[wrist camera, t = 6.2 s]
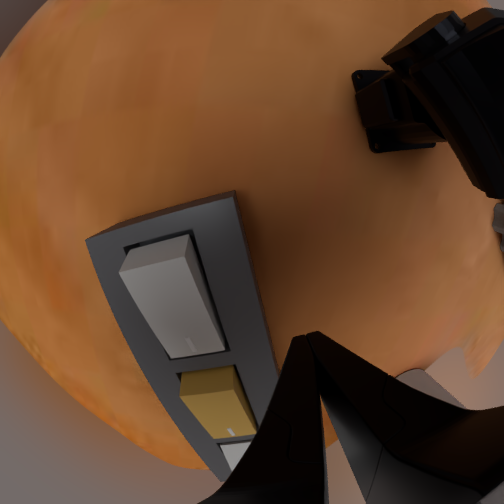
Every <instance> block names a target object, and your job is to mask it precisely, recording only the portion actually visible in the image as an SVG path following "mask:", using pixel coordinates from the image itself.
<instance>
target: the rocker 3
mask: <svg viewBox="0 0 504 504" xmlns="http://www.w3.org/2000/svg"><path fill="white" fill-rule="evenodd" d="M252 440H253V439H247V440H240V441H231V442H221V444H220V446H221V449H222V451H223V453H224V455H225V458H226V460H227V462H228V464H229V466H230V468H231V470H232V471H233V470H234V468H235V467H236V465H237V464H238V462H239V461H240V459H241V457H242V456H243V454H244V453H245V451H246V450H247V448H248V446H249V445H250V443H251V441H252Z"/></svg>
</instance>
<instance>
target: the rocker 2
mask: <svg viewBox="0 0 504 504" xmlns="http://www.w3.org/2000/svg"><path fill="white" fill-rule="evenodd" d="M179 397H180V398H181V399H182V401H183V402H184V403H185V405H186V406H187V407H188V408H189V410H190V411H191V412H192V413H193V415H194V416H195V417H196V418H197V420H198V421H199V422H200V423H201V425H202V426H203V427H204V428H205V429H206V430H207V432H208V433H209V434H210V435H211V436H212V437H213V439H218V438H228V437H237V436H245V435H252V434H256V432H257V431H256V421H255V414H254V412H253V409H252V407H251V404H250V402H249V399H248V397H247V395H246V393H245V391H244V388H243V386H242V384H241V382H240V380H239V377H238V375H237V373H236V370H235V368H234V366H233V365H227V366H221V367H215V368H209V369H202V370H195V371H187V372H182V377H181V385H180V394H179Z"/></svg>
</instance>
